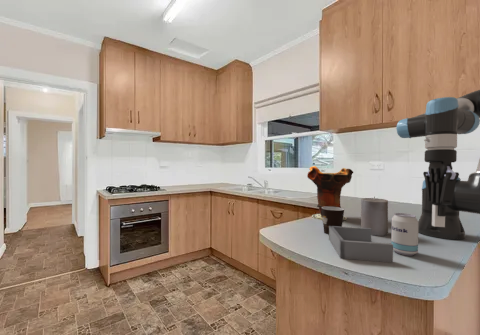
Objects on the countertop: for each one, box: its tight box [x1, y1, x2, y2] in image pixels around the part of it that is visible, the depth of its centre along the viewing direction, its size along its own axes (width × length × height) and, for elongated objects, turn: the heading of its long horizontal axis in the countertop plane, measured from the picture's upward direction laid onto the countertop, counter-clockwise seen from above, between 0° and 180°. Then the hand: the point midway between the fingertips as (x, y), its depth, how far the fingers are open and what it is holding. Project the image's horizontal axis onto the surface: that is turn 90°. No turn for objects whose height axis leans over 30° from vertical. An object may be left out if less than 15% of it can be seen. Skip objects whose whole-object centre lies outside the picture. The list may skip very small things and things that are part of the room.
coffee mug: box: [321, 207, 345, 235], centre depth 98 cm, size 12×9×10 cm
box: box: [328, 226, 394, 263], centre depth 77 cm, size 14×18×5 cm
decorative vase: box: [307, 165, 354, 221], centre depth 126 cm, size 21×23×28 cm
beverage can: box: [390, 212, 419, 257], centre depth 75 cm, size 7×7×12 cm
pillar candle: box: [360, 196, 389, 237], centre depth 98 cm, size 10×10×15 cm
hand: (438, 226), depth 73 cm, fingers closed
